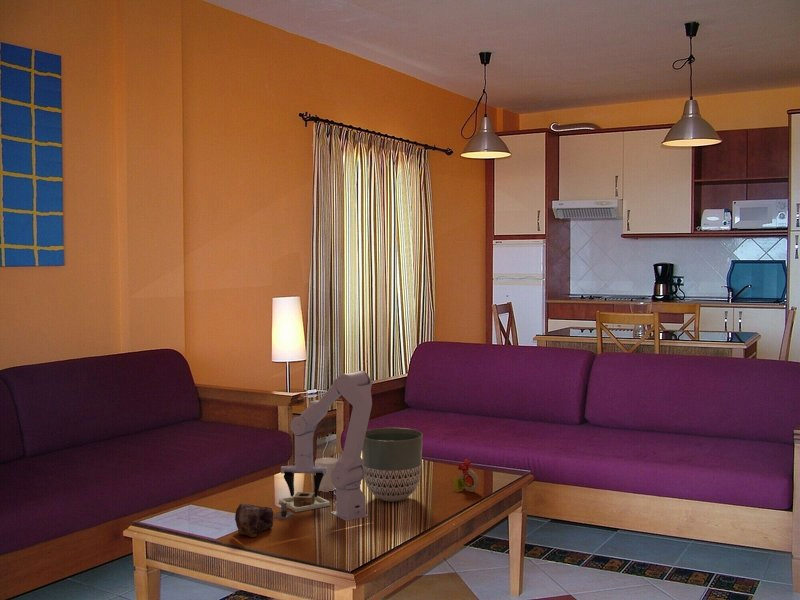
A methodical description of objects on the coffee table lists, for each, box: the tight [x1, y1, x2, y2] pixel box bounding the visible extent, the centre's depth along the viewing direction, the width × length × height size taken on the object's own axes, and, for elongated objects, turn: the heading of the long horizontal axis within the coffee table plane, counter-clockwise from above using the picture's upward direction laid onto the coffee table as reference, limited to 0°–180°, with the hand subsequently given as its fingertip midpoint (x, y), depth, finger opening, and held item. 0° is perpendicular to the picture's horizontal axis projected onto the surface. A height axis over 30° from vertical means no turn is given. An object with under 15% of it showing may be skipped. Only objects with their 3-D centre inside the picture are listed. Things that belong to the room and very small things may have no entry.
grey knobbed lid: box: [273, 502, 295, 520], centre depth 253 cm, size 6×6×4 cm
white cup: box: [314, 457, 339, 493], centre depth 282 cm, size 8×8×10 cm
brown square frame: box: [293, 491, 315, 507], centre depth 264 cm, size 6×7×3 cm
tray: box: [278, 495, 331, 513], centre depth 265 cm, size 12×12×2 cm
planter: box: [361, 427, 424, 503], centre depth 270 cm, size 20×20×21 cm
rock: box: [234, 503, 274, 538], centre depth 239 cm, size 12×9×10 cm
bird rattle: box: [452, 458, 480, 493], centre depth 280 cm, size 6×11×9 cm
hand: (304, 495), depth 265 cm, fingers open, 7 cm apart
